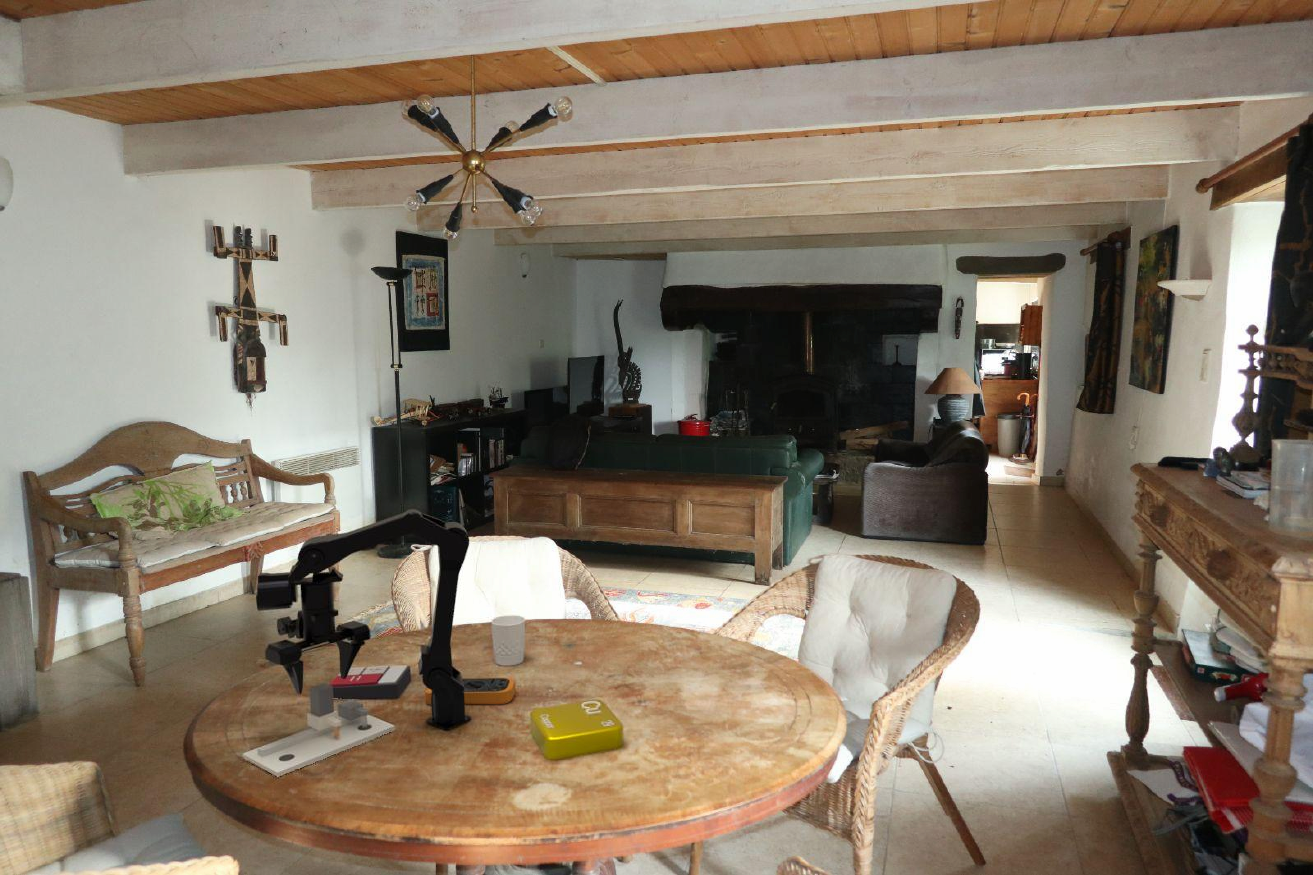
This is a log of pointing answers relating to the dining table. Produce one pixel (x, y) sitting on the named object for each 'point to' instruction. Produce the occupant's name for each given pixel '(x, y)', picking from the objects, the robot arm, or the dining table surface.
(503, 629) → the white cup
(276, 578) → the robot arm
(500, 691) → the multimeter
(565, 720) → the element tile
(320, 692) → the block
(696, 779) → the dining table surface
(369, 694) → the calculator
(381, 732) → the plate
